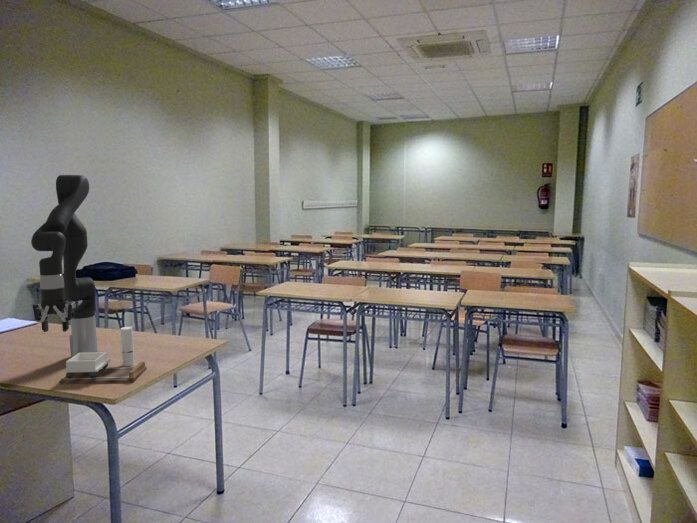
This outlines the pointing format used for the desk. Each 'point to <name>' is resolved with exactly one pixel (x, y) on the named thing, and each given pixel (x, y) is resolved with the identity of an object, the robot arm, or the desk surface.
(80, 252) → the robot arm
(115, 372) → the track
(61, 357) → the desk surface
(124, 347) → the tube
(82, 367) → the white open tray
